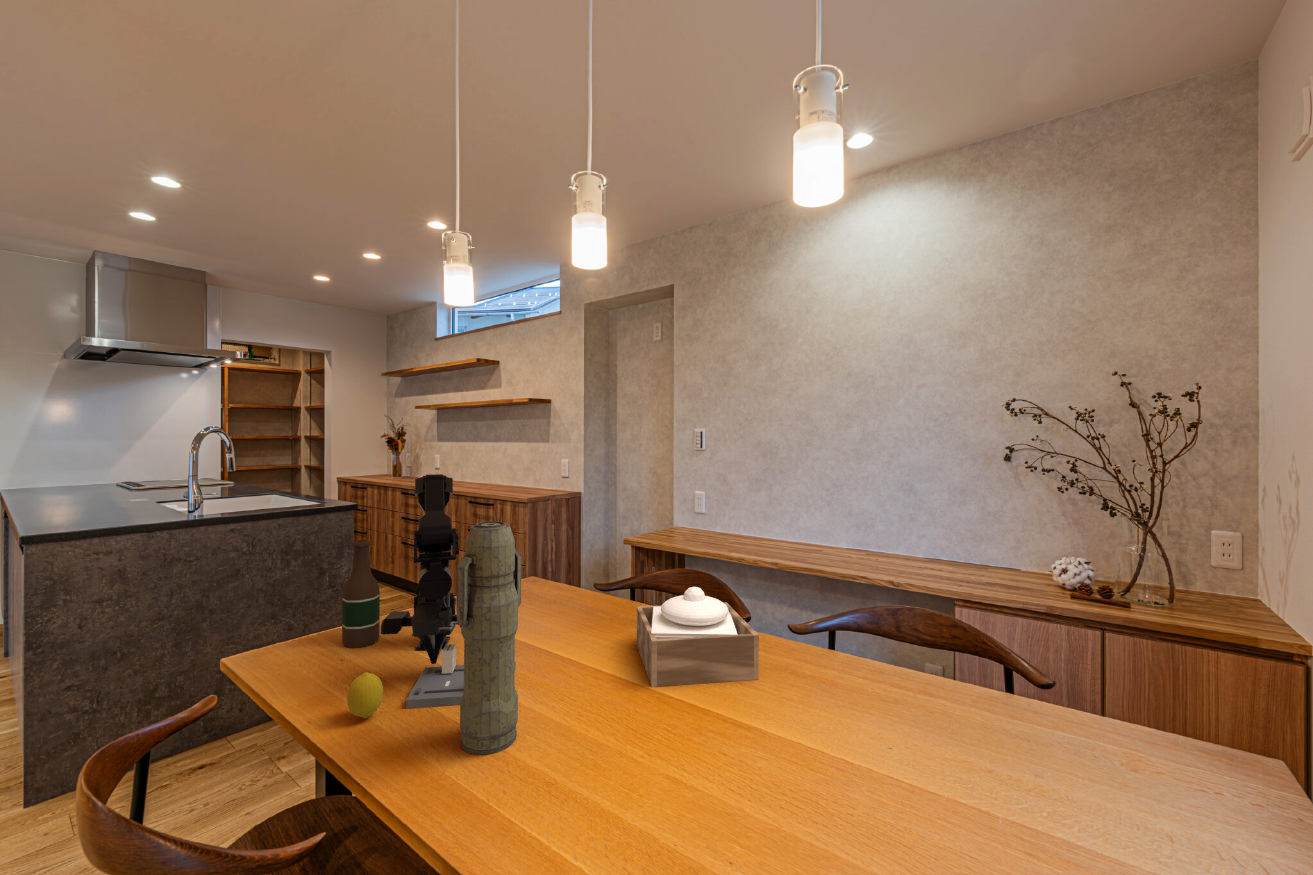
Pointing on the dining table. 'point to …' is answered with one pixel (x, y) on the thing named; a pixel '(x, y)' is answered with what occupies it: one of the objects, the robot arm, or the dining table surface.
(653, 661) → the dish corral
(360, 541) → the beer bottle
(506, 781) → the dining table surface
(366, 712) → the lemon
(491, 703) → the thermos
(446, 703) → the console
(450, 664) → the fader
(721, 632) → the butter dish
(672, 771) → the dining table surface
